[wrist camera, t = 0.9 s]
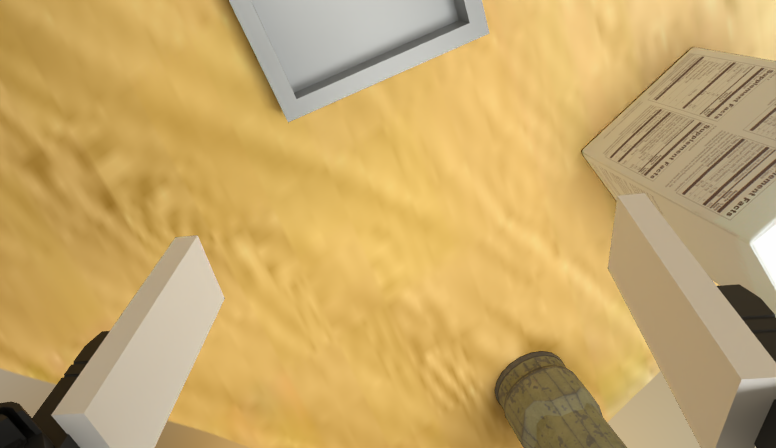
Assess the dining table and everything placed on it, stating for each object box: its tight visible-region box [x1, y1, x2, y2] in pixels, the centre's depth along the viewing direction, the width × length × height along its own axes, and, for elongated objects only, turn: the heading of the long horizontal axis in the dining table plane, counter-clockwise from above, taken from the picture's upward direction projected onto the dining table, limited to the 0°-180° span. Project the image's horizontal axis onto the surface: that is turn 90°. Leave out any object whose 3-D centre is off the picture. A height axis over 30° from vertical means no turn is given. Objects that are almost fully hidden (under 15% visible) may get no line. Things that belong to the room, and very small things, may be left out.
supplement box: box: [582, 47, 776, 317], centre depth 39 cm, size 13×13×18 cm
